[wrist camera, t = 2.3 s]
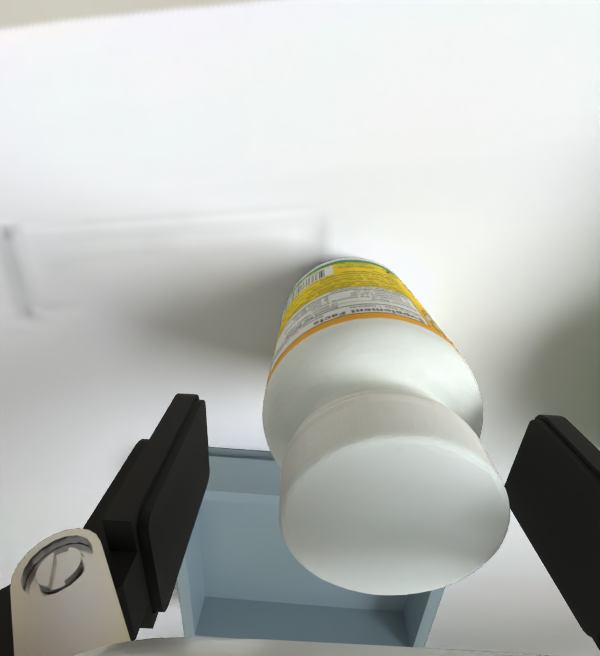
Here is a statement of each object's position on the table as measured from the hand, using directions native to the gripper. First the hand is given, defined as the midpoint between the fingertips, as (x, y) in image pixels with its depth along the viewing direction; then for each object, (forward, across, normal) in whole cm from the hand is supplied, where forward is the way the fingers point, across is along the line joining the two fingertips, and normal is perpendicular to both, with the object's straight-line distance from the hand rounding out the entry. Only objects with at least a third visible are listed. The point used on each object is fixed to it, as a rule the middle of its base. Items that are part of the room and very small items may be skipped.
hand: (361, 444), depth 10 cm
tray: (+10, 0, +18) cm, 21 cm away
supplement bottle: (+11, -1, 0) cm, 11 cm away
